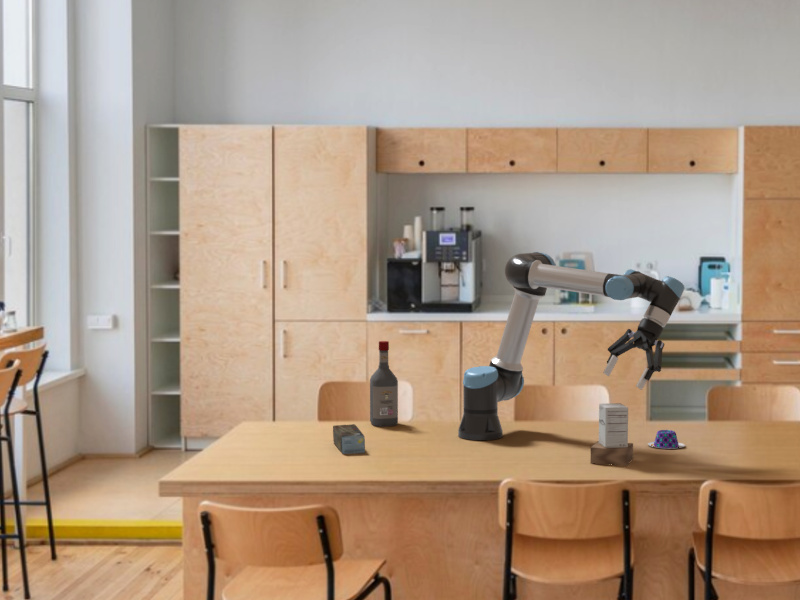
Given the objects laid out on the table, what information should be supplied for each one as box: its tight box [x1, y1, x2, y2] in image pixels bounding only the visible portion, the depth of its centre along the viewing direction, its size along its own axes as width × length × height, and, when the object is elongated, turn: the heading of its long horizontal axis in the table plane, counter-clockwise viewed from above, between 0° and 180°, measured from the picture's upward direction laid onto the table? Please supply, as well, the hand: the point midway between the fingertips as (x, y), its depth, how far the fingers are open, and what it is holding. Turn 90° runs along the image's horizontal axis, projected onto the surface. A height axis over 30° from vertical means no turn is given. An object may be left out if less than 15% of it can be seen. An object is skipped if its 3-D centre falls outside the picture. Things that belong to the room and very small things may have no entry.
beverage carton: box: [332, 423, 366, 455], centre depth 402 cm, size 8×19×7 cm, turn 11°
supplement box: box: [598, 402, 629, 448], centre depth 379 cm, size 7×7×13 cm
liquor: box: [369, 340, 399, 428], centre depth 442 cm, size 9×9×30 cm
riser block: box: [590, 440, 634, 467], centre depth 380 cm, size 11×11×5 cm
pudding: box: [647, 429, 686, 450], centre depth 404 cm, size 12×12×5 cm
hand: (622, 381), depth 389 cm, fingers open, 13 cm apart
